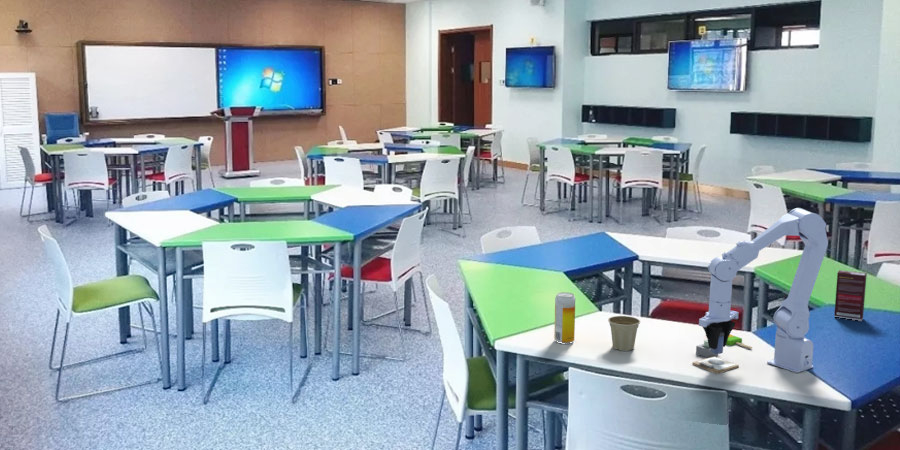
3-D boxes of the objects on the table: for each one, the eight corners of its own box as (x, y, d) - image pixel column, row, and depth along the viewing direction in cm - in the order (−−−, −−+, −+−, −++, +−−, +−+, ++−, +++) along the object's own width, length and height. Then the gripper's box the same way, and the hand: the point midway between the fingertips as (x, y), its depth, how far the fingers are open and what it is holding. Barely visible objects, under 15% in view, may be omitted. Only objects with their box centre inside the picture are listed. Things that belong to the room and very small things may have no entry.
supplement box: (863, 318, 260) (867, 272, 257) (861, 322, 256) (866, 275, 253) (834, 314, 264) (838, 269, 261) (833, 317, 260) (837, 272, 257)
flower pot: (600, 345, 234) (601, 317, 232) (626, 341, 237) (627, 314, 236) (619, 354, 225) (620, 326, 224) (645, 350, 229) (646, 322, 227)
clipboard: (738, 367, 215) (738, 363, 215) (717, 373, 210) (718, 369, 210) (713, 358, 222) (713, 354, 222) (692, 364, 217) (692, 360, 217)
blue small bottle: (725, 352, 216) (727, 331, 215) (717, 354, 214) (719, 334, 213) (715, 348, 219) (716, 328, 218) (707, 351, 217) (709, 330, 216)
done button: (712, 348, 225) (712, 341, 224) (707, 349, 224) (708, 342, 223) (706, 346, 226) (707, 339, 226) (702, 347, 225) (702, 340, 225)
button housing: (718, 355, 225) (718, 347, 224) (708, 357, 222) (708, 350, 222) (705, 350, 228) (706, 343, 228) (695, 353, 226) (696, 345, 226)
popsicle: (717, 335, 244) (718, 329, 243) (757, 349, 231) (758, 343, 230) (705, 338, 241) (705, 332, 240) (745, 352, 228) (745, 346, 228)
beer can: (578, 341, 237) (579, 294, 234) (566, 346, 233) (568, 298, 230) (561, 337, 241) (562, 290, 238) (550, 341, 237) (551, 294, 234)
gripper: (724, 293, 221) (721, 338, 223) (691, 300, 213) (688, 347, 216) (746, 298, 215) (742, 345, 218) (712, 307, 207) (709, 354, 210)
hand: (717, 347), depth 216 cm, fingers closed on blue small bottle, 3 cm apart
